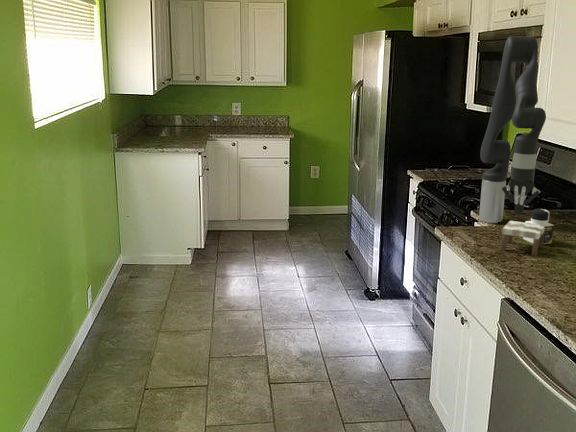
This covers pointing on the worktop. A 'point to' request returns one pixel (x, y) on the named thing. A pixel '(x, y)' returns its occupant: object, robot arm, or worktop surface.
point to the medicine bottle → (542, 219)
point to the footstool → (523, 234)
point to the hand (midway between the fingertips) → (518, 214)
